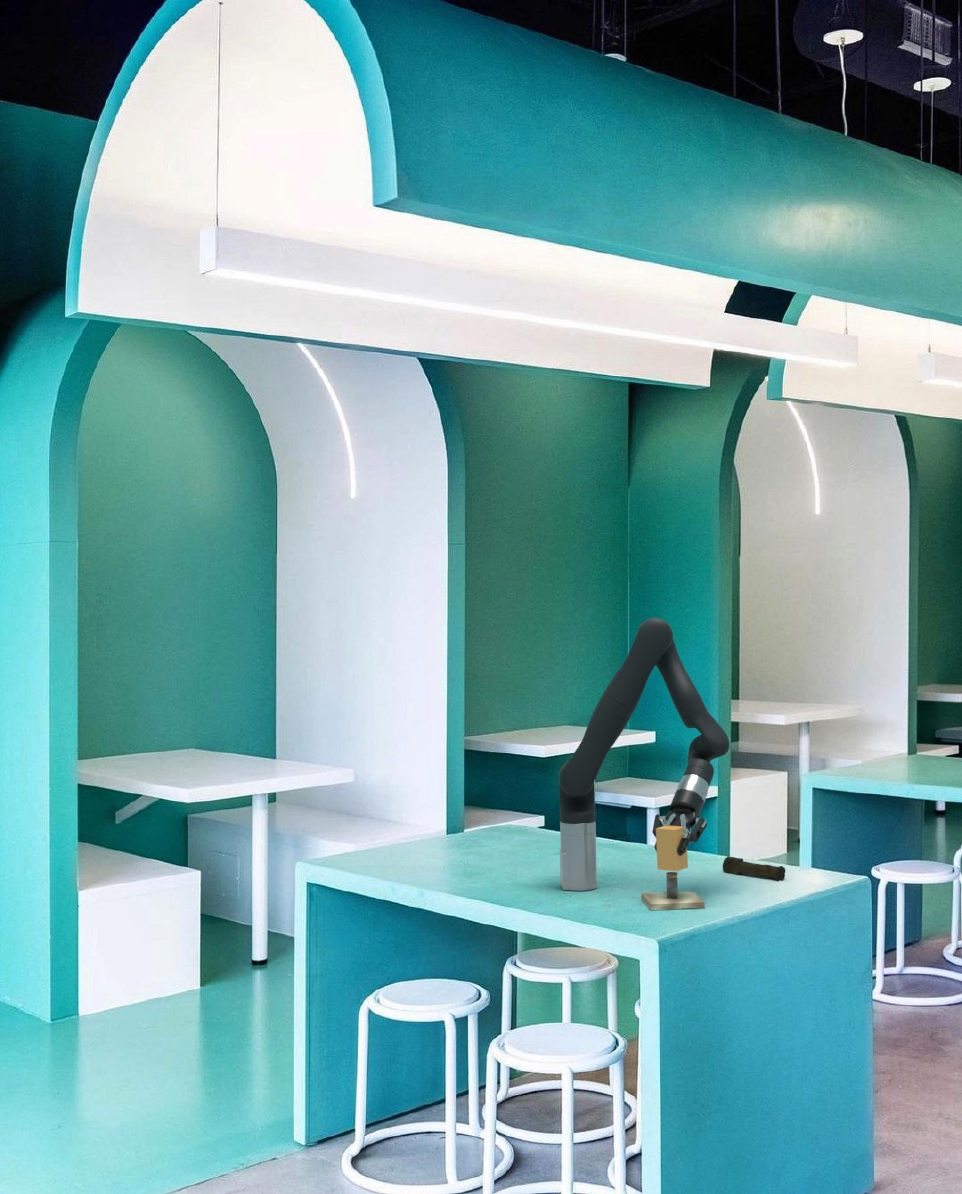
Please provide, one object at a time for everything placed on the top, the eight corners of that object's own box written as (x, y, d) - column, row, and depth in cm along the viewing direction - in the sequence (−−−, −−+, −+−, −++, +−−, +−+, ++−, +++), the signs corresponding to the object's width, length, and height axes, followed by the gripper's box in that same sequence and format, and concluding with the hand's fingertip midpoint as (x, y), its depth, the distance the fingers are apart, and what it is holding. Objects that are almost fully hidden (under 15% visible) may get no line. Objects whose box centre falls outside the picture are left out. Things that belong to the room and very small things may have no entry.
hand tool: (786, 880, 364) (786, 862, 364) (777, 882, 362) (777, 864, 362) (729, 871, 378) (729, 854, 378) (720, 873, 376) (719, 856, 376)
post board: (650, 910, 331) (650, 879, 331) (641, 899, 344) (640, 869, 344) (704, 908, 332) (703, 877, 332) (693, 897, 345) (692, 867, 345)
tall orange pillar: (657, 869, 337) (655, 828, 337) (668, 865, 342) (666, 825, 342) (677, 871, 334) (675, 830, 334) (687, 867, 338) (686, 826, 338)
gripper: (659, 786, 348) (636, 841, 339) (710, 789, 340) (688, 845, 330) (670, 804, 352) (648, 859, 343) (721, 807, 344) (700, 864, 334)
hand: (668, 852), depth 336 cm, fingers closed on tall orange pillar, 5 cm apart
